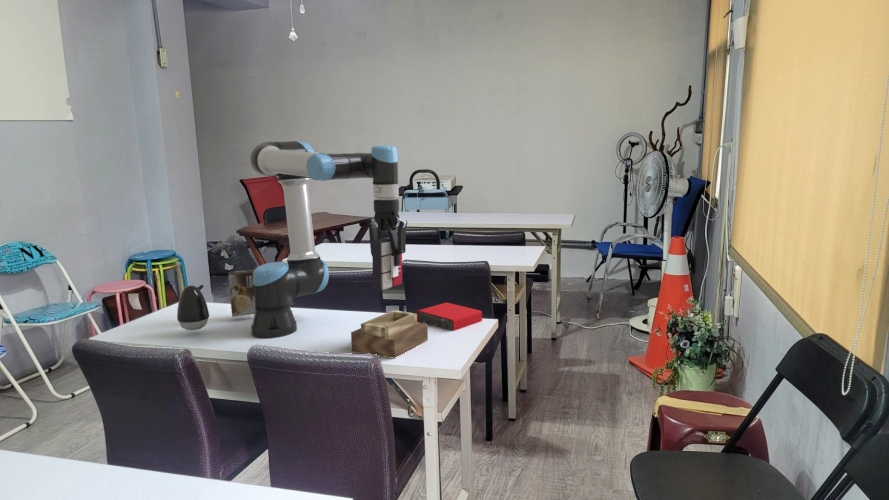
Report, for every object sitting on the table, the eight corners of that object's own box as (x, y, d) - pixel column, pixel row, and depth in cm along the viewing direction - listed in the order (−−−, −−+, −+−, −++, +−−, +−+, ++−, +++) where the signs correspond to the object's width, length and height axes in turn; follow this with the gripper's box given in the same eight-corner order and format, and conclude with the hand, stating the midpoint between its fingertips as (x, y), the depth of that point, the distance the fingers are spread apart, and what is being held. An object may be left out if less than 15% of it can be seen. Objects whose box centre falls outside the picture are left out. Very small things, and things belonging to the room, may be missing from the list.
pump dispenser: (216, 325, 209) (213, 283, 206) (193, 334, 200) (189, 290, 197) (195, 322, 213) (192, 281, 211) (171, 330, 204) (167, 287, 201)
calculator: (382, 292, 175) (382, 242, 173) (370, 290, 178) (370, 240, 175) (403, 284, 185) (403, 237, 182) (392, 282, 187) (392, 235, 184)
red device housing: (417, 323, 209) (416, 310, 208) (445, 315, 219) (445, 302, 218) (453, 334, 197) (453, 320, 196) (482, 324, 207) (482, 311, 206)
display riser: (351, 351, 180) (350, 322, 179) (386, 334, 196) (385, 308, 194) (395, 360, 172) (394, 330, 171) (427, 342, 188) (427, 314, 186)
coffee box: (256, 310, 228) (253, 269, 226) (257, 314, 223) (254, 272, 220) (231, 312, 225) (227, 271, 222) (231, 317, 219) (228, 274, 217)
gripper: (355, 198, 177) (359, 275, 181) (402, 200, 169) (404, 280, 173) (371, 196, 184) (373, 271, 188) (416, 198, 175) (418, 275, 179)
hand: (388, 275), depth 180 cm, fingers closed on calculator, 4 cm apart
